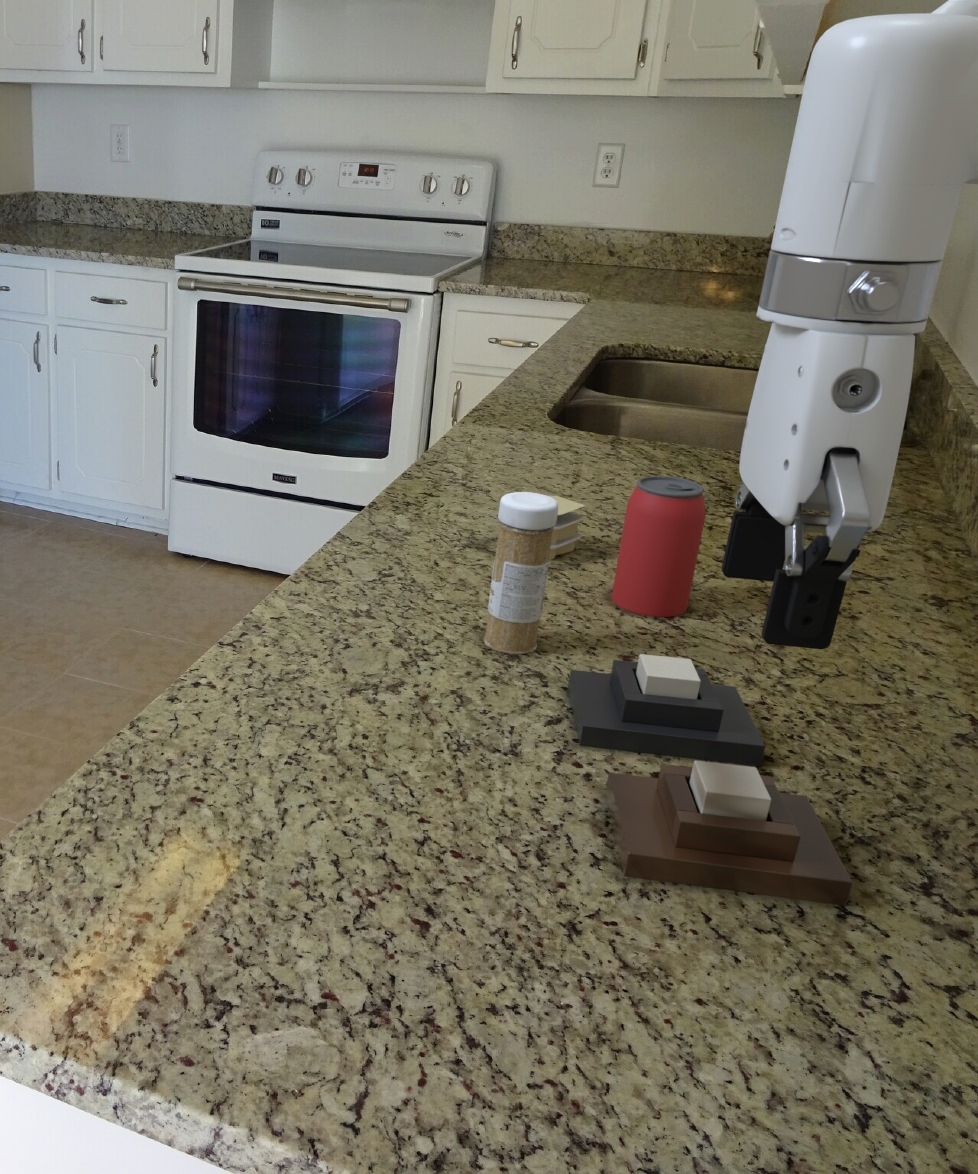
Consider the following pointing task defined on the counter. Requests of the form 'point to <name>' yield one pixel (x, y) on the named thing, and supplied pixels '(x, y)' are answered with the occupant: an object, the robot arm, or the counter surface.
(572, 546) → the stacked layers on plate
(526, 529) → the tan spice bottle
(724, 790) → the key
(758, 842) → the brown stepped base
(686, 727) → the grey stepped base
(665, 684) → the key
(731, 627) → the counter surface
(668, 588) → the beer can
